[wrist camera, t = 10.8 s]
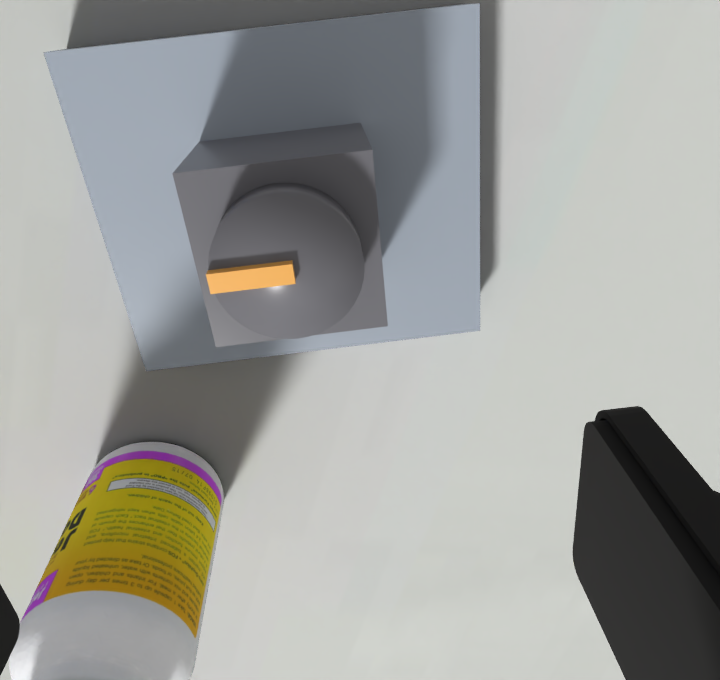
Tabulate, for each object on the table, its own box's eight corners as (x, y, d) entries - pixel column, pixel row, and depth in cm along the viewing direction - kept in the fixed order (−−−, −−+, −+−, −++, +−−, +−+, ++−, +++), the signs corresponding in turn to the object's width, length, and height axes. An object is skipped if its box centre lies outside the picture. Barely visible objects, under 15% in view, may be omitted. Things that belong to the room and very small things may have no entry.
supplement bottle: (97, 423, 28) (-43, 694, 17) (237, 449, 30) (191, 716, 18) (85, 524, 31) (-41, 811, 20) (212, 543, 33) (161, 822, 21)
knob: (360, 122, 21) (377, 161, 15) (374, 272, 23) (393, 348, 18) (199, 141, 21) (160, 187, 15) (232, 289, 23) (209, 371, 18)
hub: (465, 3, 21) (506, 2, 17) (469, 309, 27) (499, 368, 22) (66, 48, 21) (0, 59, 16) (157, 347, 27) (126, 413, 22)
